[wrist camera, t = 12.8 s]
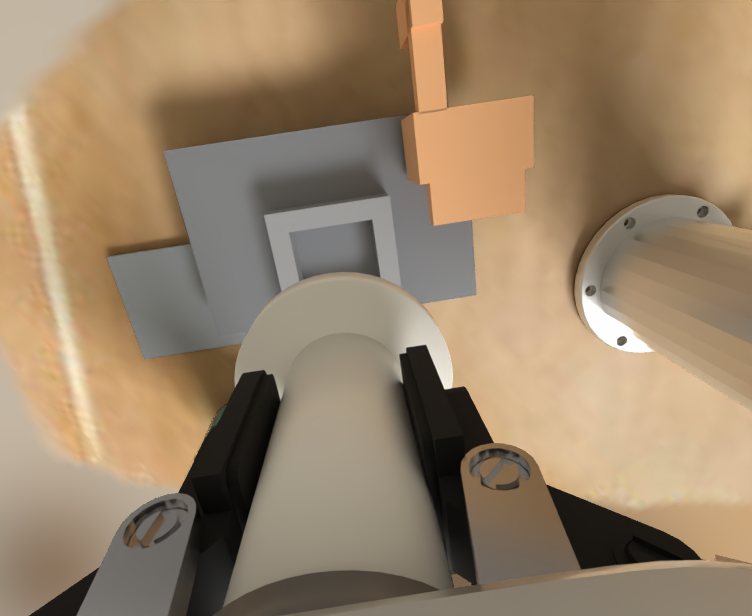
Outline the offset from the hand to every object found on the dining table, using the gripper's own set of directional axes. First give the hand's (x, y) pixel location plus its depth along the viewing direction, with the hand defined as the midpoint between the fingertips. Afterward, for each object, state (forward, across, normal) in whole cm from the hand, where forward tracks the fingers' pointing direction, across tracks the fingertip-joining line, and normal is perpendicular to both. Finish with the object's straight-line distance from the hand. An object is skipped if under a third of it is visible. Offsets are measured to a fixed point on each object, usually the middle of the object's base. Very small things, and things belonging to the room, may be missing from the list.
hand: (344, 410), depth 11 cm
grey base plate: (+21, +1, -2) cm, 21 cm away
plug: (+5, 0, 0) cm, 5 cm away
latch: (+17, -8, -8) cm, 20 cm away
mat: (+21, +13, +2) cm, 24 cm away
